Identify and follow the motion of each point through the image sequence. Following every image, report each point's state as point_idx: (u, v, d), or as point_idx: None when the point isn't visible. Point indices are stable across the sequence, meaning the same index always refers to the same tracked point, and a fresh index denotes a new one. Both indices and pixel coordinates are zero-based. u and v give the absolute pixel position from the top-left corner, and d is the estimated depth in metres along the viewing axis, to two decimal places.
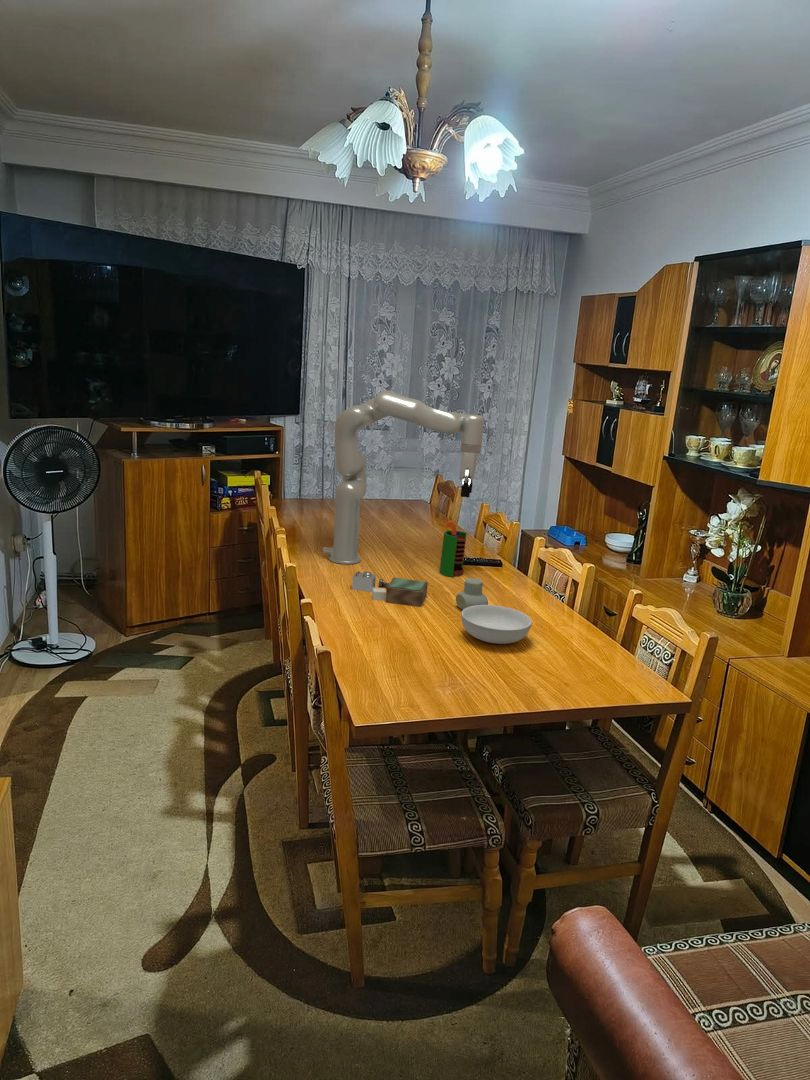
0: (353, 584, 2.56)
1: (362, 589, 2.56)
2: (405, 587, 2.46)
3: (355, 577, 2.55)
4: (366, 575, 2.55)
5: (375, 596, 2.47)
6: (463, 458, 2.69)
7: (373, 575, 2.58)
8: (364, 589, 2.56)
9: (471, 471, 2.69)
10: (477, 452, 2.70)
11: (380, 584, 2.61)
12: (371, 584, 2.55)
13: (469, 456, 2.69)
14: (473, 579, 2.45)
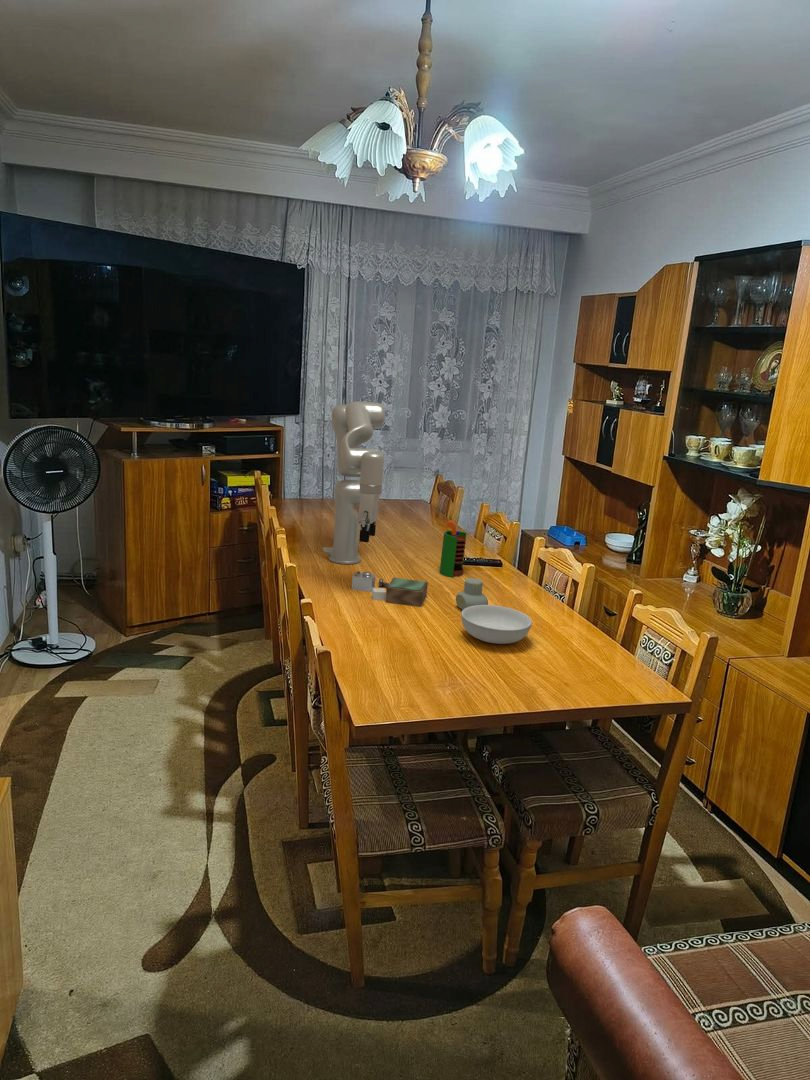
0: (353, 584, 2.56)
1: (362, 589, 2.56)
2: (405, 587, 2.46)
3: (355, 577, 2.55)
4: (366, 575, 2.55)
5: (375, 596, 2.47)
6: (361, 500, 2.46)
7: (373, 575, 2.58)
8: (364, 589, 2.56)
9: (370, 514, 2.46)
10: (376, 493, 2.47)
11: (380, 584, 2.61)
12: (371, 584, 2.55)
13: (367, 498, 2.46)
14: (473, 579, 2.45)
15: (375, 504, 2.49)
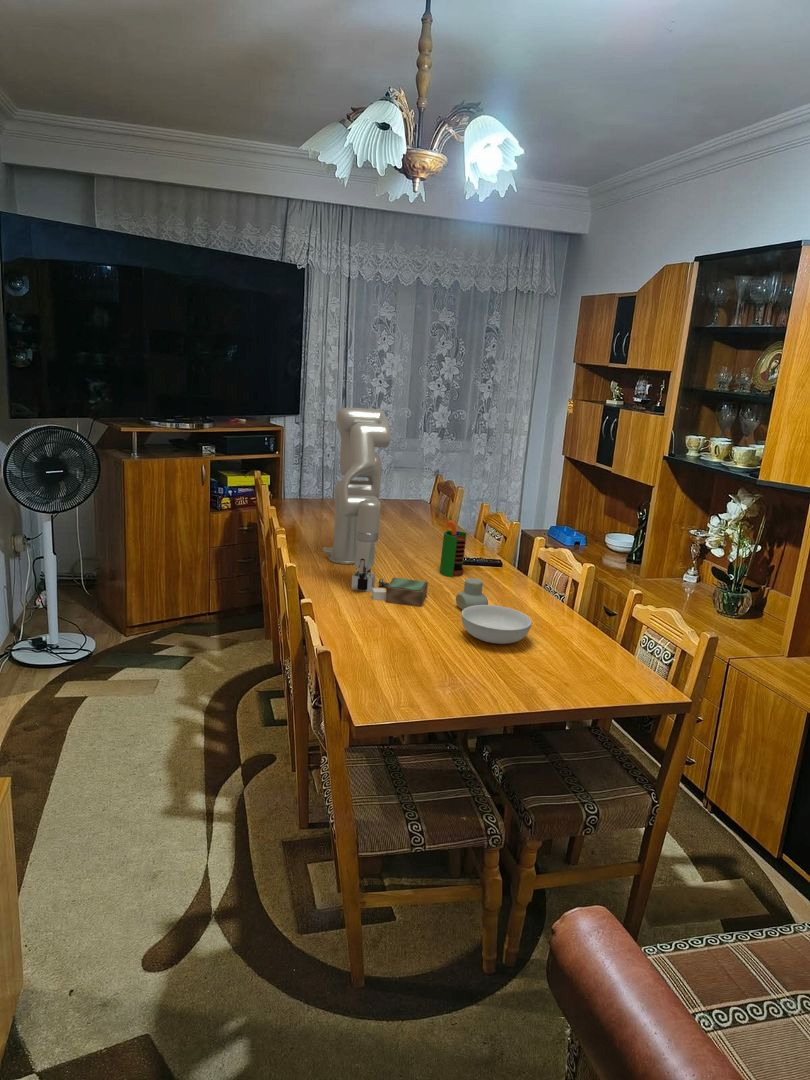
0: (352, 584, 2.56)
1: None
2: (405, 587, 2.46)
3: (354, 577, 2.55)
4: None
5: (375, 596, 2.47)
6: (358, 548, 2.50)
7: (372, 575, 2.58)
8: None
9: (366, 561, 2.50)
10: (373, 541, 2.51)
11: (380, 584, 2.61)
12: (370, 584, 2.55)
13: (364, 546, 2.50)
14: (473, 579, 2.45)
15: (372, 551, 2.53)
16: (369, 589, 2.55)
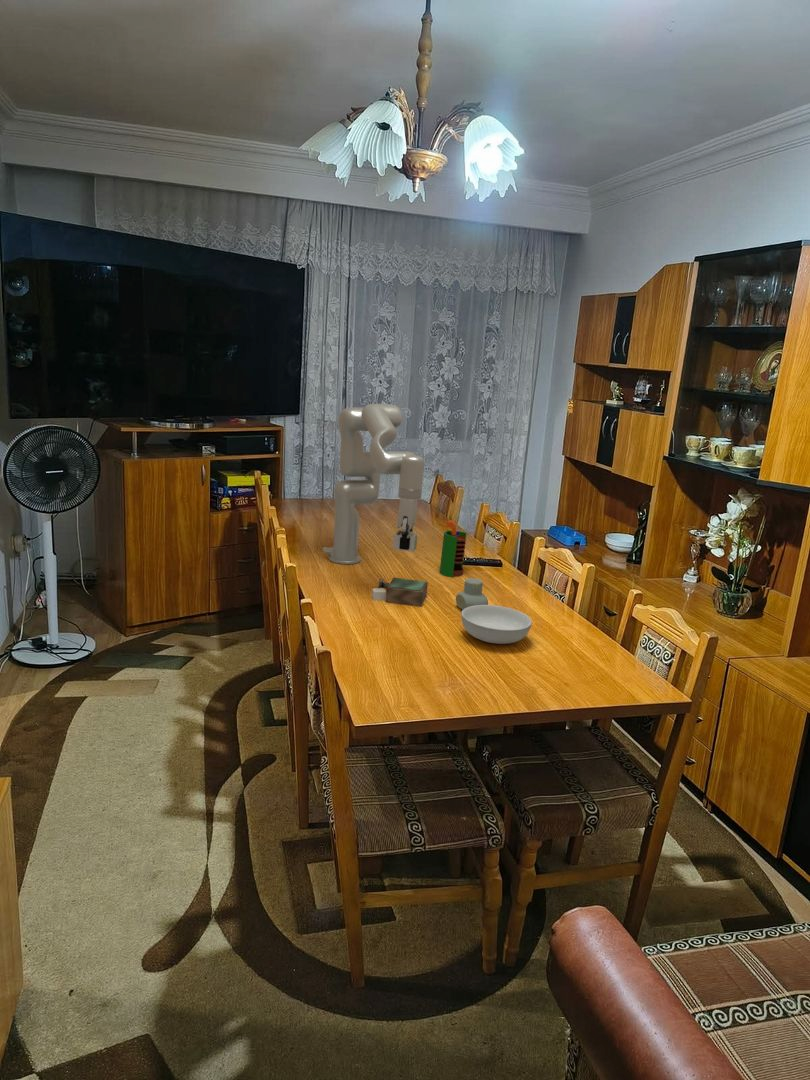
0: (394, 543, 2.45)
1: None
2: (405, 587, 2.46)
3: (396, 536, 2.44)
4: None
5: (375, 596, 2.47)
6: (400, 504, 2.40)
7: (415, 534, 2.47)
8: None
9: (409, 519, 2.40)
10: (416, 498, 2.40)
11: (380, 584, 2.61)
12: (413, 543, 2.44)
13: (407, 502, 2.39)
14: (473, 579, 2.45)
15: (415, 509, 2.42)
16: (411, 549, 2.44)
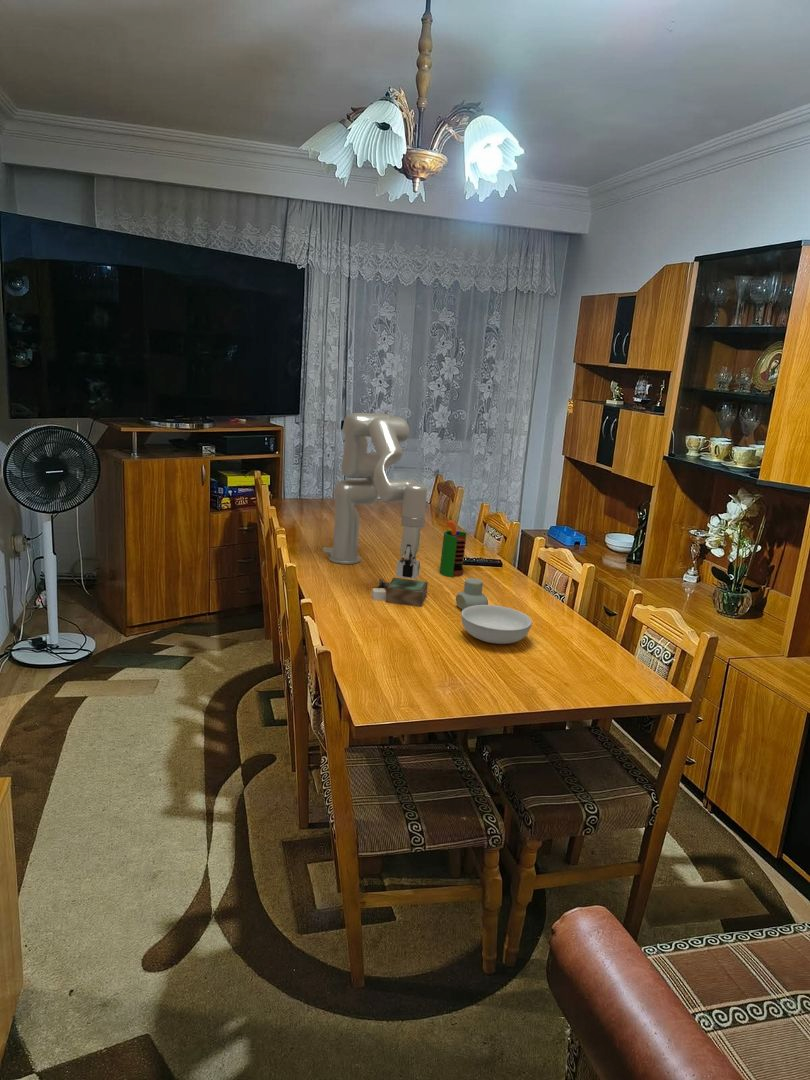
0: (397, 571, 2.47)
1: None
2: (405, 587, 2.46)
3: (399, 563, 2.46)
4: None
5: (375, 596, 2.47)
6: (404, 533, 2.41)
7: (417, 561, 2.48)
8: None
9: (413, 547, 2.41)
10: (419, 526, 2.42)
11: (380, 584, 2.61)
12: (416, 570, 2.46)
13: (410, 531, 2.41)
14: (473, 579, 2.45)
15: (418, 537, 2.43)
16: (414, 576, 2.46)
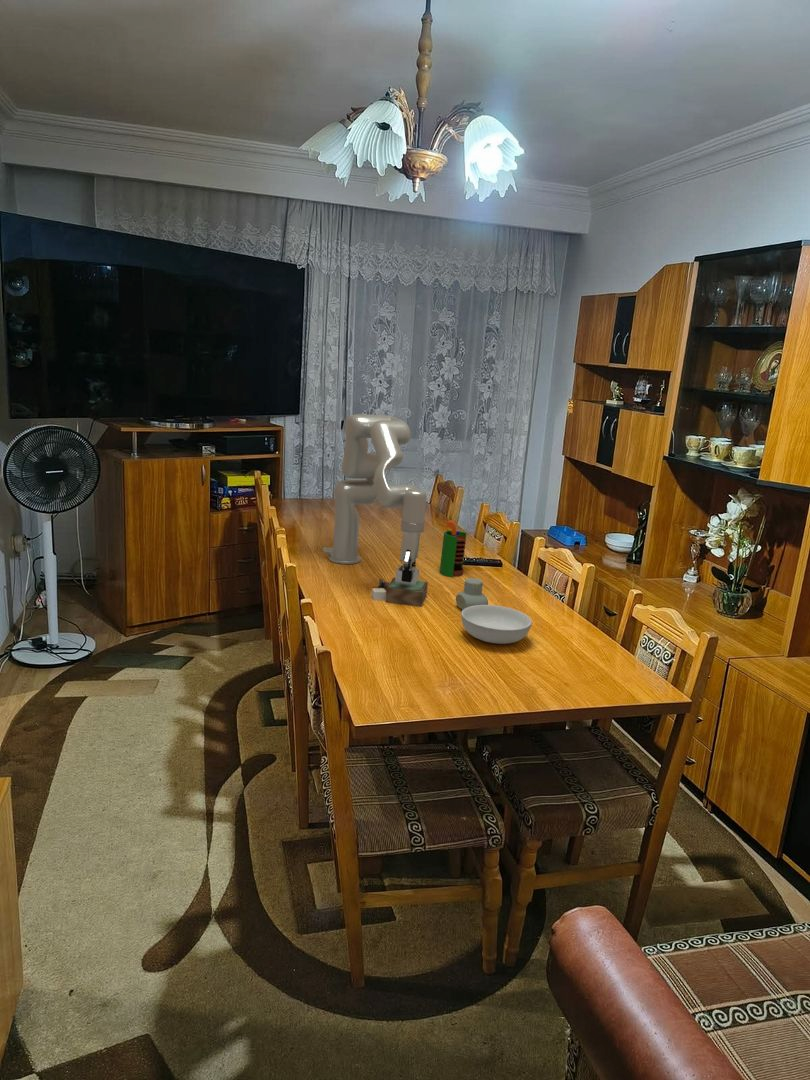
0: (396, 578, 2.47)
1: (406, 584, 2.47)
2: (405, 587, 2.46)
3: (398, 571, 2.47)
4: None
5: (375, 596, 2.47)
6: (403, 538, 2.42)
7: (417, 569, 2.49)
8: (408, 584, 2.47)
9: (412, 553, 2.42)
10: (419, 532, 2.42)
11: (380, 584, 2.61)
12: (415, 578, 2.46)
13: (410, 536, 2.41)
14: (473, 579, 2.45)
15: (417, 542, 2.44)
16: (414, 584, 2.47)
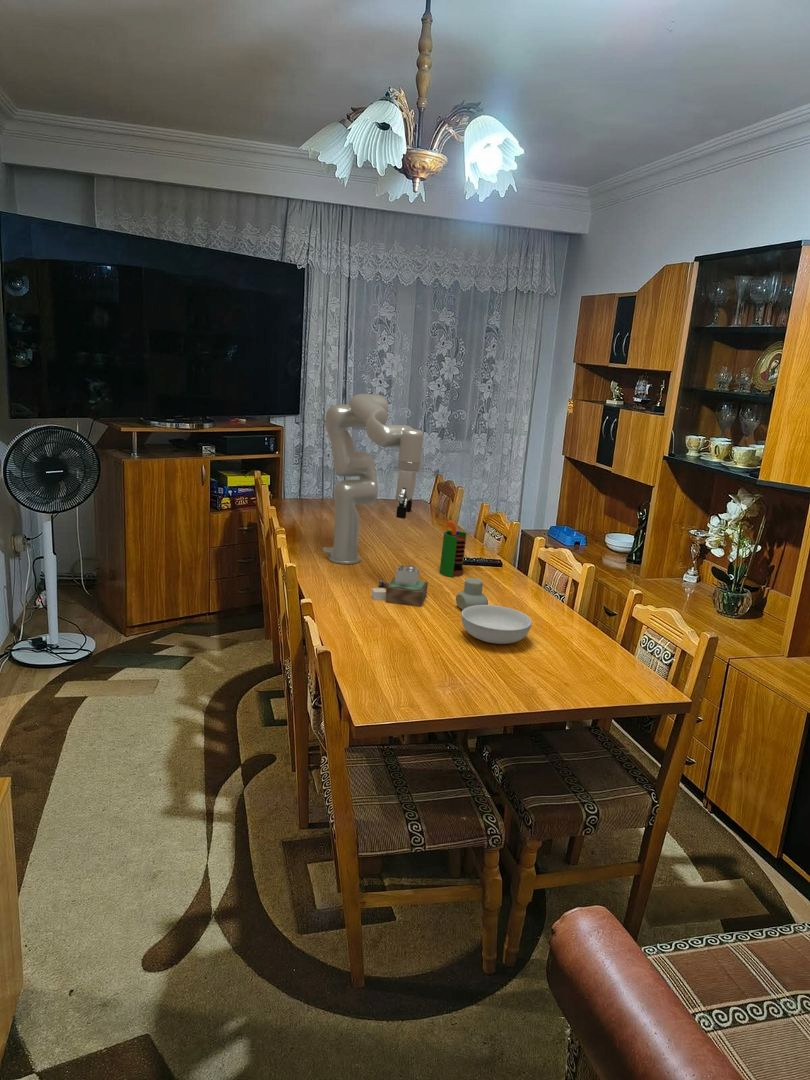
0: (396, 578, 2.47)
1: (406, 584, 2.47)
2: (405, 587, 2.46)
3: (398, 571, 2.47)
4: (410, 569, 2.47)
5: (375, 596, 2.47)
6: (399, 476, 2.49)
7: (417, 569, 2.49)
8: (408, 584, 2.47)
9: (408, 491, 2.49)
10: (415, 470, 2.49)
11: (380, 584, 2.61)
12: (415, 578, 2.46)
13: (406, 475, 2.48)
14: (473, 579, 2.45)
15: (413, 481, 2.51)
16: (414, 584, 2.47)
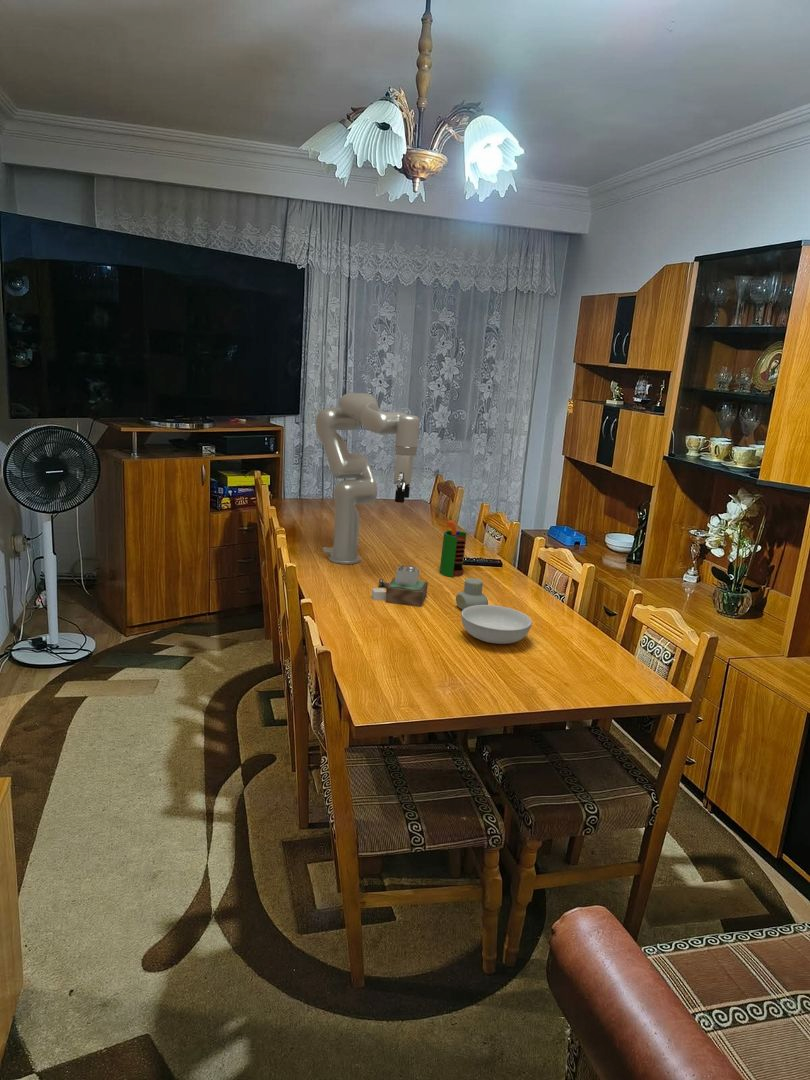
0: (396, 578, 2.47)
1: (406, 584, 2.47)
2: (405, 587, 2.46)
3: (398, 571, 2.47)
4: (410, 569, 2.47)
5: (376, 596, 2.47)
6: (397, 461, 2.54)
7: (417, 569, 2.49)
8: (408, 584, 2.47)
9: (405, 475, 2.54)
10: (412, 455, 2.54)
11: (380, 584, 2.61)
12: (415, 578, 2.46)
13: (403, 459, 2.53)
14: (473, 579, 2.45)
15: (410, 465, 2.56)
16: (414, 584, 2.47)
